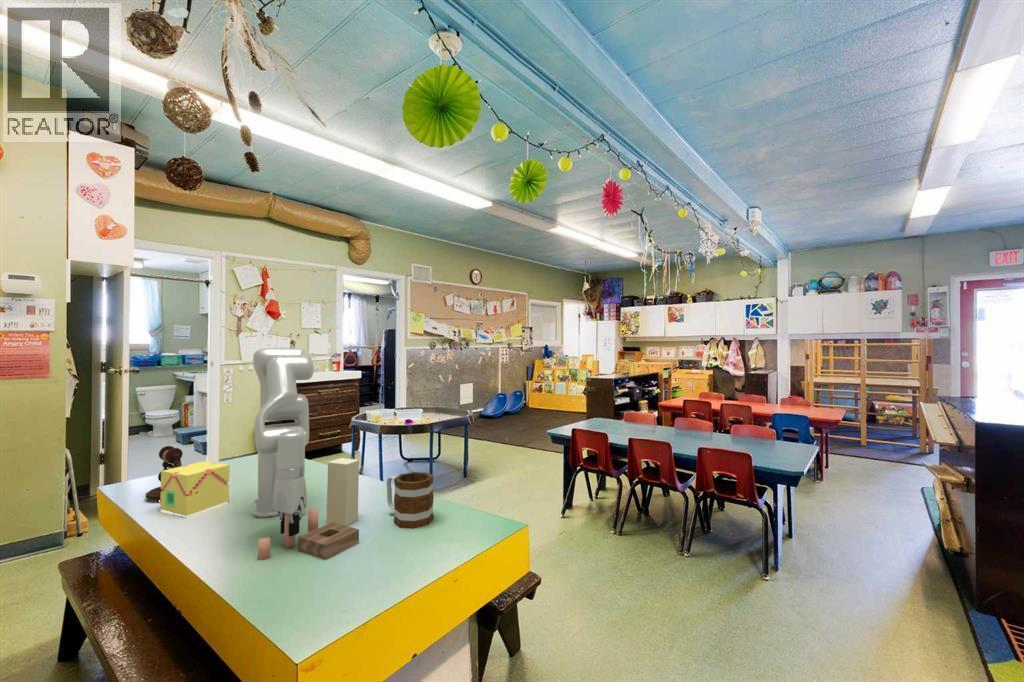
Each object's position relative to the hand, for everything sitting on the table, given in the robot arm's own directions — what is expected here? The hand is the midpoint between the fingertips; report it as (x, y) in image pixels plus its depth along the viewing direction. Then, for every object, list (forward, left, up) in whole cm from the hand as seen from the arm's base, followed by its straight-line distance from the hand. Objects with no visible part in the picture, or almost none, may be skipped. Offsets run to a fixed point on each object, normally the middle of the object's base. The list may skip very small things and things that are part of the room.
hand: (289, 533), depth 127 cm
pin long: (0, 0, -4) cm, 4 cm away
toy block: (-60, +4, -4) cm, 60 cm away
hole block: (+11, +5, -4) cm, 13 cm away
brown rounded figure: (-83, +6, -4) cm, 83 cm away
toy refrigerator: (0, +20, -4) cm, 20 cm away
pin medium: (0, +8, -4) cm, 9 cm away
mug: (+18, +32, -4) cm, 37 cm away
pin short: (0, -8, -4) cm, 9 cm away
